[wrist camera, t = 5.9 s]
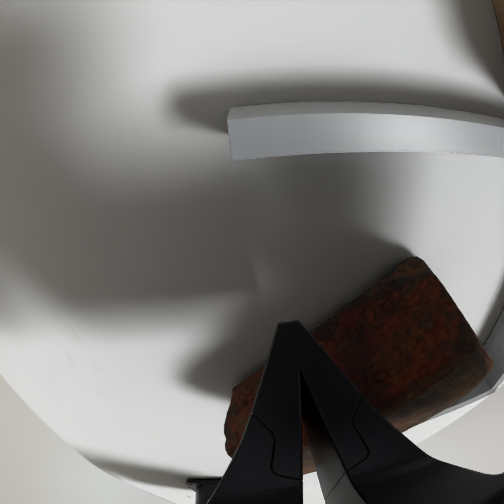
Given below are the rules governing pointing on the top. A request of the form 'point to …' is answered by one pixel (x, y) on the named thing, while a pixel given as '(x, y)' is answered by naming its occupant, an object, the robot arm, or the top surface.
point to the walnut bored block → (500, 17)
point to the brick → (391, 353)
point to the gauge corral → (372, 140)
